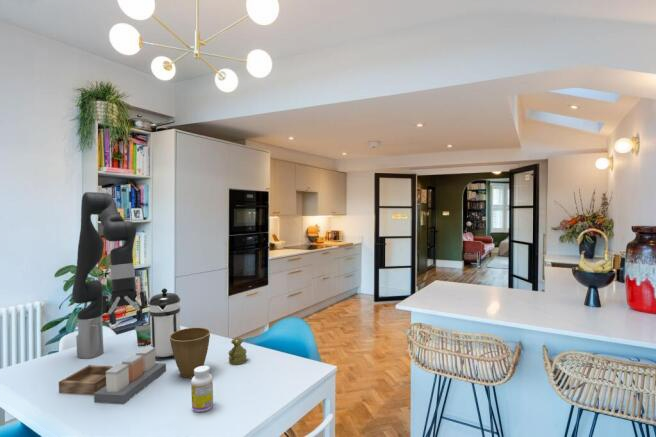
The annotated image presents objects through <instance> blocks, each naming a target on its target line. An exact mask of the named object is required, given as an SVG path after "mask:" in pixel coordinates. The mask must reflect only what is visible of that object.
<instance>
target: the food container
mask: <svg viewBox="0 0 656 437" xmlns="http://www.w3.org/2000/svg"><path fill="white" fill-rule="evenodd" d="M135 331H136V341H137V347H147V346H151V345H150V344H151V330H150V321H148V322H145V323H143V324H142V325H136V326H135V329H134V332H135ZM146 345H147V346H146Z"/></svg>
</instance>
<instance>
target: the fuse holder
mask: <svg viewBox="0 0 656 437" xmlns="http://www.w3.org/2000/svg"><path fill="white" fill-rule="evenodd" d="M165 372H167V363H164V362H156V366H154V367H153V368H151V369H150V370H149V371H147V372H143V375H142V376H140V377H139V378H138V379H136V380H135V381H133V382H129V385H128V386H126V387H125V388H124V389H122V390H121V391H120V392H118V393H110V392H107V390H106V386H105V387H103V388H102V389H100V390H99V391H97V392H96V393H94V395H93V401H94V403H96V404H97V403H99V404H119V405H125V403H127V402H128V401H129V400H130V398H131V399H132V398H133V397H135V396H136V395H137V394H138V393H139V391H140V390H141V391H142V390H143V389H144V387H145V388H146V387H147V386H149V385H150V384H151V383H153V382H154V381H155V380H156V379H157V378H159V377H160V376H161V375H162V374H164V373H165ZM148 384H149V385H148ZM141 391H140V392H141ZM135 394H136V395H135ZM134 395H135V396H134Z"/></svg>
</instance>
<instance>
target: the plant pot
mask: <svg viewBox="0 0 656 437" xmlns="http://www.w3.org/2000/svg"><path fill="white" fill-rule="evenodd" d="M210 338H211V331H210V330H209V329H208V328H205V327H196V326H195V327H188V328H182V329H180V330H179V331H176V332H174V333H172V334H171V335H170V342H171V347H172V351H173V355H174V357H173V358H174V361H175V364H176V367H177V369H178V372H179V373H180V376H181V377H183V378H187V379H188V378H193V377H194V376H195V374H194V369H195V368H197V367H199V366H205V362H206V359H207V354H208V351H209V349H208V348H209V343H210Z"/></svg>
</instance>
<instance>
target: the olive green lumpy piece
mask: <svg viewBox="0 0 656 437" xmlns="http://www.w3.org/2000/svg"><path fill="white" fill-rule="evenodd" d="M230 342H231V344H233V347H232V348H231V349H230V350H229V351H228V363H229V364H230V365H235V366H236V365H237V366H238V365H242V364H245V363H246V361H247V359H248V358H247V356H248V355H247V349H246V348H244V346H242V343H243V342H244V339H243V338H241V337H239V336H238V337H235V338H233V339H232V340H231V341H230Z"/></svg>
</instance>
